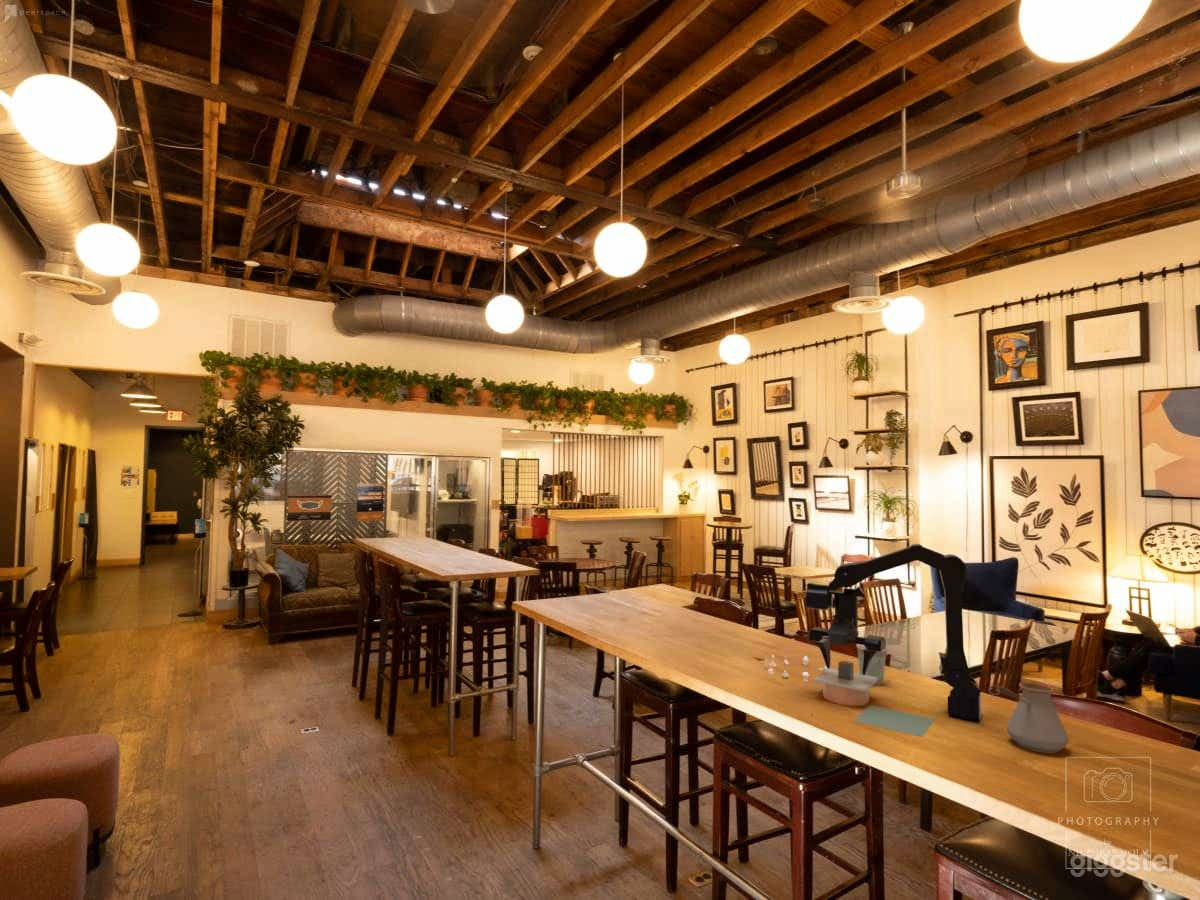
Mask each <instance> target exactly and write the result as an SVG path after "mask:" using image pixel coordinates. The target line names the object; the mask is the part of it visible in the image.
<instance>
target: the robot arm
mask: <svg viewBox="0 0 1200 900" xmlns="http://www.w3.org/2000/svg"><path fill="white" fill-rule="evenodd" d="M915 561H917V562H920V563H923V564H925V565H927V566H929V567H931V568H933V569H935V570H938V572H939V574H940V579H941V583H942V587H943V591H944V609H945V610H944V615H945V616H944V617H945V618H944V620H945V636H946V637H945V641H946V643H945V644H946V645H945V650H944V651H945V652H942V651H941V652H940V651H939V652H938V654H939V655H938V656H939V659H940V663H939V667H938V669H939V673H940V675H943V679H944V680H945V683H946V684H947V685H948V686H950V687H952V688H951V690H950V691H949V695H948V696H947V714H948V717H949V718H952V719H957V720H962V721H965V722H966V721H967V722H970V723H976V724H979V723H980V722H981V720H982V717H983V716H982V713H981V710H982V705H981V704H982V703H981V699H982V697H981V696H982V695H981V692H982V691H981V689H980V687H979V684H978V682H977V681H976V679H974V678H973V677H972V676H971V674H970V670H969V666H968V665H969V664H968V662H967V657H966V654H965V647H964V628H963V627H964V624H963V600H962V599H963V597H962V592H963V589H964V585H965V580H966V579H965V578H966V572H967V566H966V563H965V562H964V561H963V560H962V559H961V558H960V557H959V556H957V555H955V554H951V553H950V554H942V553H940V552H938V551H935V550H933V549H930V548H927V547H925V546H923V545H921V544H920V543H914V544H911V545H910V546H907V547H904V548H902V549H898V550H896V551H892V552H889V553H885V554H883V555H879V556H878V557H874V558H872V559H869V560H862V561H861V560H860V561H853V562H848V563H843V564H840V565H839V566H838V567H837V568H836V569H835V572H834V573H833V579H832V580H831V581H829V582H828V584H818V583H813V582H808V583H807V584H806V593H805V597H804V600H805V601H804V603H805V609H811V610H821V611H823V610H824V611H829V608H830V607H832V608H833V603H834V615H833V618H832V619H833V621H832V623H831V625H830V627H829V628H828V627H827V628H825V627H819V626H815V627H813V628H811V629H809V630H808V632H807V640H808V641H811V642H812V643H813V644H814V645H816V646H817V647H818V648H819V649H820V652H821V655H822V657H823V660H824V663H825V666H827V668H828V669H829V668H830V667H831V645H834V644H836V645H840V646H843V647H846V646H848V645H849V644H856V645H857V644H861V645H864V646H865V647H866V649H865V650H863V653H864V660H863V675H865V674H866V672H867V669H868V667H869V664H870V662H871V659H872V657H873V656H874V654H876V653H877V652H879V651H882V650H883V649H885V648H886V645H887V642H886V641H887V640H886V638H884V636H879V635H873V634H869V635H868V636H866V637H862V636H859V634H860V633H859V628H858V627H859V625H858V624H859V623H858V621H859V615H858V612H859V611H858V610H859V606H858V605H859V603H858V602H859V601H858V600H859V597H860V598H861V597H862V598H864V597H865V596H866V592H864V591H863V590H862V587H861V586H857V587H856V588H851V587H854V586H855V585H857V584H859V583H861V582H863V581H865V580H866V579H867V578H869V577H871V576H873V575H875V574H879V573H882V572H884V571H888V570H891V569H894V568H897V567H900V566H904V565H906V564H910V563H912V562H915ZM841 588H843V591H839V590H840V589H841ZM833 596H834V597H833ZM833 601H834V602H833ZM830 669H831V668H830Z"/></svg>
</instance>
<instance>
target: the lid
mask: <svg viewBox="0 0 1200 900" xmlns="http://www.w3.org/2000/svg"><path fill="white" fill-rule="evenodd" d="M837 665H838V669H834V668H830V669H827V670H825V671H824V670H823V671H822V672H821V673H820V674H818V675H816V676H815V677H813V678H812V682H817V683H821V684H823V683H826V684H831V685H836V686H841V687H846V688H851V689H856V690H861V691H866V690H867V689H868V688H869V689H870V687H872V686H874V685H873V684H874V683H875V682H876V681H878V678H877V677H872V676H866V675H861V674H860V673H854V662H851V661H846V660H841V661H839V662H837Z"/></svg>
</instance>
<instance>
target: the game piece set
mask: <svg viewBox="0 0 1200 900" xmlns="http://www.w3.org/2000/svg"><path fill="white" fill-rule="evenodd" d="M775 658H776V657H775V655H774V654H772V655H771V662H770V661H769V662H768V660H767V659H766V660H764V662H765V669H766V670H767V668H768V665H769V666H770V667H769V669H768V670H767V674H768V675H775V674H774V673H775V672H774V667H776V666H777V663H776V661H775V660H774V659H775ZM784 658H785V659H784V660H783V662H784V664H785V665H788V666H789V662H788V659H787V655H784ZM809 660H810V658H809V657H808V656H807V655H806V656H804V657H803V658H802V664H803V666H804V667H808V664H809ZM771 666H772V667H773V668H771ZM827 669H828V668H827V666H826V665H825V666H823V667H819V668H818V669H817V670H818V671H822V672H823V671H824V670H825V671H826V670H827ZM829 669H831V668H829ZM801 674H802V675H803V679H802V681H804V682H809V680H808V678H809V676H810V675H809V673H808V672H807V671H804V672H802V673H801ZM781 676H782V677H784V679H787V678H789V673H787V671H786V670H783V673H782V674H781Z"/></svg>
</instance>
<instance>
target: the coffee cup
mask: <svg viewBox="0 0 1200 900" xmlns="http://www.w3.org/2000/svg"><path fill="white" fill-rule="evenodd" d="M855 646H856V647H857V648H856V649H857V658H858V665H859V674H861V675H863V660H864V653H863V650H865V649H866V647H865V646H864V645H861V644H856V645H855ZM888 650H889V648H888V646H887V644H886V648H885V649H883V650H882V651H879V652H877V653H876V654H874V656H873V657H872V659H871V662H870V664H869V667H868V669H867V672H866V674H865V675H866V676H872V677H877V678H878V681H876V682H875V683H874V684H873V685H872V686H873V687H874V686H875V687H876V686H882V685H883V684H884V675H885V669H886V659H887V652H888Z"/></svg>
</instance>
